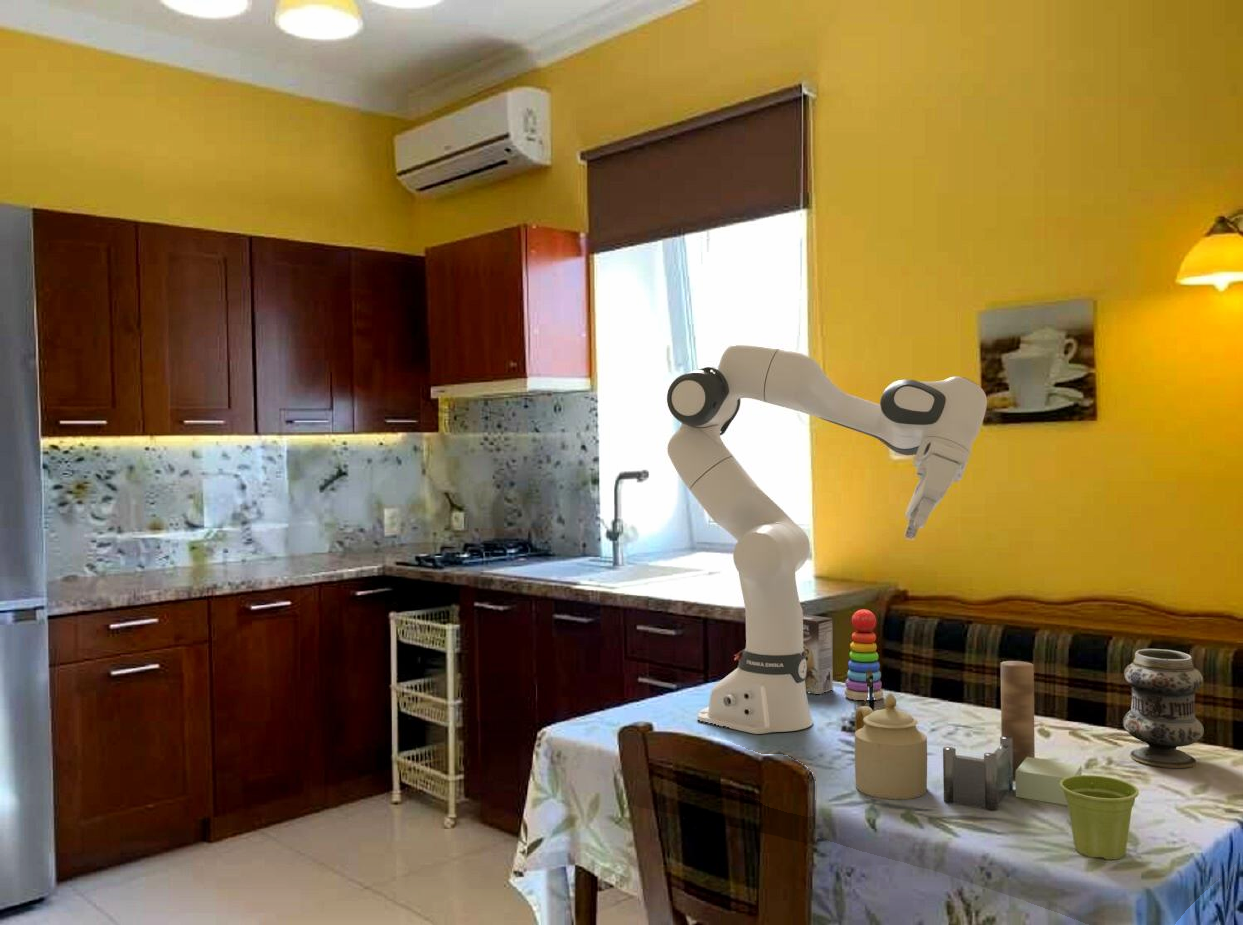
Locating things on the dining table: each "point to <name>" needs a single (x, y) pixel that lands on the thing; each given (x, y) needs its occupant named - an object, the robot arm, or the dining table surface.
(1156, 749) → the apothecary jar
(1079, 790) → the plant pot
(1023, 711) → the brown wooden cylinder
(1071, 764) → the block
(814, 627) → the coffee box
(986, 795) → the corner post block
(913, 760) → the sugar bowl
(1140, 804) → the dining table surface
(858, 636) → the stacking toy
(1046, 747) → the dining table surface
